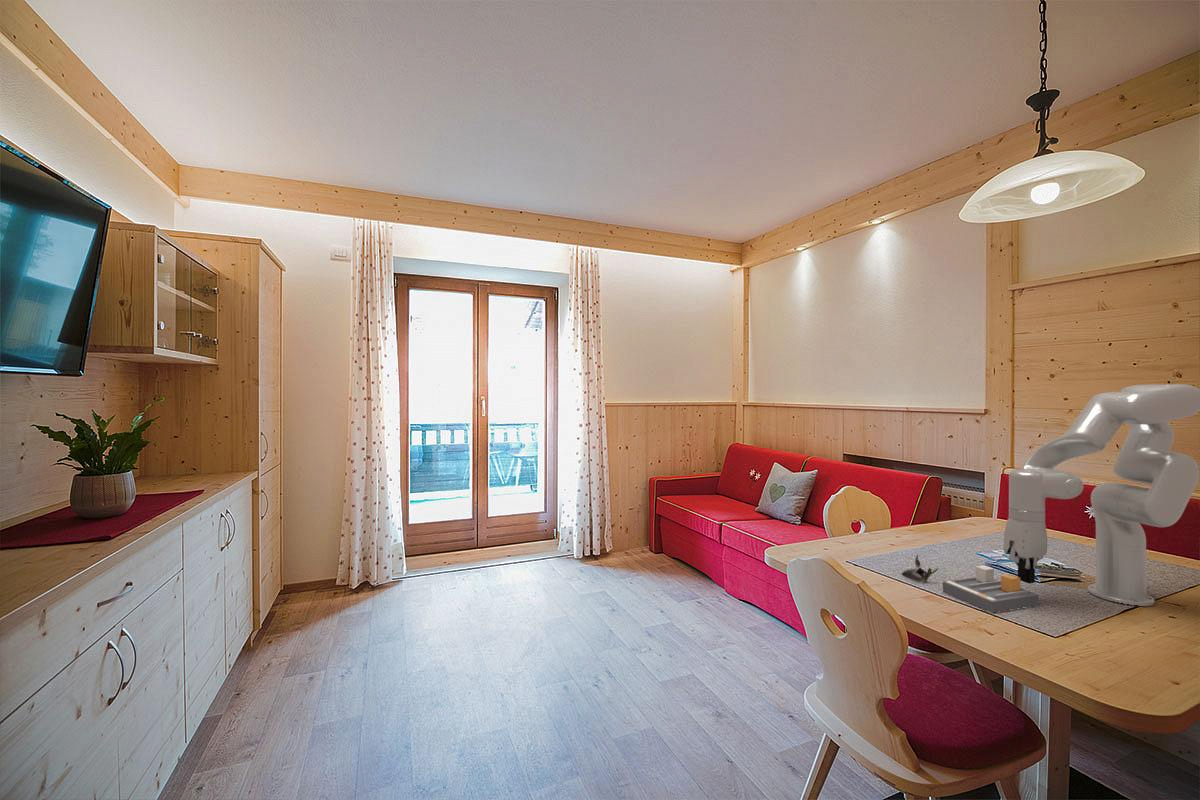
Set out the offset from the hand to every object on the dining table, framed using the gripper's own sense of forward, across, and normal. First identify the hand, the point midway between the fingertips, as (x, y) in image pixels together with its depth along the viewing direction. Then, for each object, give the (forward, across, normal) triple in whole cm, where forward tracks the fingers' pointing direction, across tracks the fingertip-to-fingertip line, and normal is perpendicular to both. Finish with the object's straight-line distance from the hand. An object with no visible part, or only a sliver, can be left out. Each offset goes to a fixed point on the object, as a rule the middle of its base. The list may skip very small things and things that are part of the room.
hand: (1026, 581), depth 134 cm
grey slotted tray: (+5, +9, -3) cm, 11 cm away
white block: (+2, +6, -7) cm, 9 cm away
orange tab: (+2, +6, 0) cm, 6 cm away
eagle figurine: (+6, +14, -21) cm, 26 cm away
